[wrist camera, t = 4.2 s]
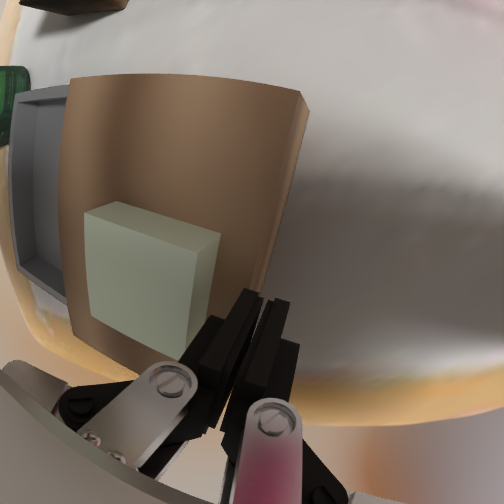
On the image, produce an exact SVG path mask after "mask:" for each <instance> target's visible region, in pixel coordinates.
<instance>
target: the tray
mask: <svg viewBox="0 0 504 504" xmlns="http://www.w3.org/2000/svg"><path fill="white" fill-rule="evenodd" d="M68 89H69V85H62V86H54V87H48V88H42V89H36V90H31V91H25V92H21V93H16V94H15V98H14V105H13V112H12V120H11V129H10V141H9V162H8V187H9V209H10V221H11V231H12V239H13V246H14V253H15V259H16V265H17V270H18V271H19V272H21V273H22V274H23V275H25V276H26V277H27V278H29V279H30V280H31V281H32V282H34V283H35V284H37V285H38V286H39V287H41V288H42V289H43V290H45V291H46V292H48V293H49V294H50V295H52V296H53V297H55V298H56V299H58V300H59V301H61V302H62V303H64V304H65V305H67V300H66V294H65V287H64V280H63V272H62V264H61V254H60V241H59V223H58V175H59V157H60V145H61V135H62V127H63V119H64V112H65V106H66V100H67V95H68Z"/></svg>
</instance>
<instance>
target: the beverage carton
mask: <svg viewBox="0 0 504 504" xmlns="http://www.w3.org/2000/svg"><path fill="white" fill-rule="evenodd" d="M128 1H129V0H20V2H19V4H20V5H24V6H28V7H32V8H36V9H40V10H45V11H49V12H53V13H58V14H62V15H66V16H70V15H76V14H80V13H87V12H98V11H108V10H121V9H124V8H125V7H126V5H127V3H128Z"/></svg>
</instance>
